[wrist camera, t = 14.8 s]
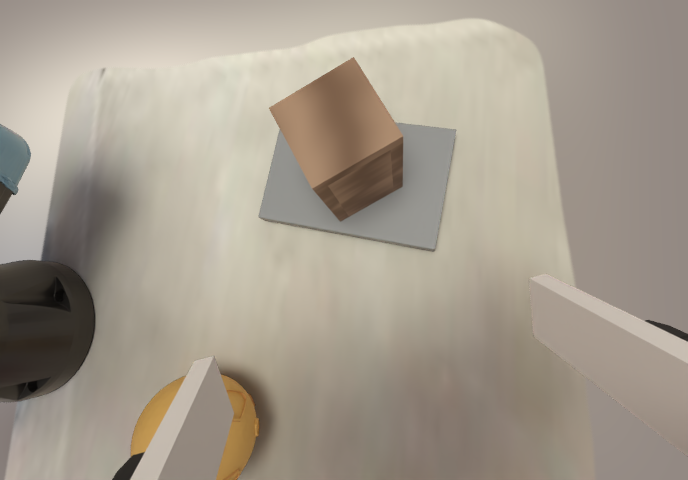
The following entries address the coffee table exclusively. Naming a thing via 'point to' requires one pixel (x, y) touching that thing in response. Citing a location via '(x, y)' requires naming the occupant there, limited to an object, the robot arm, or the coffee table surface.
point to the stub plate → (383, 215)
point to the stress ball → (239, 433)
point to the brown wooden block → (343, 139)
